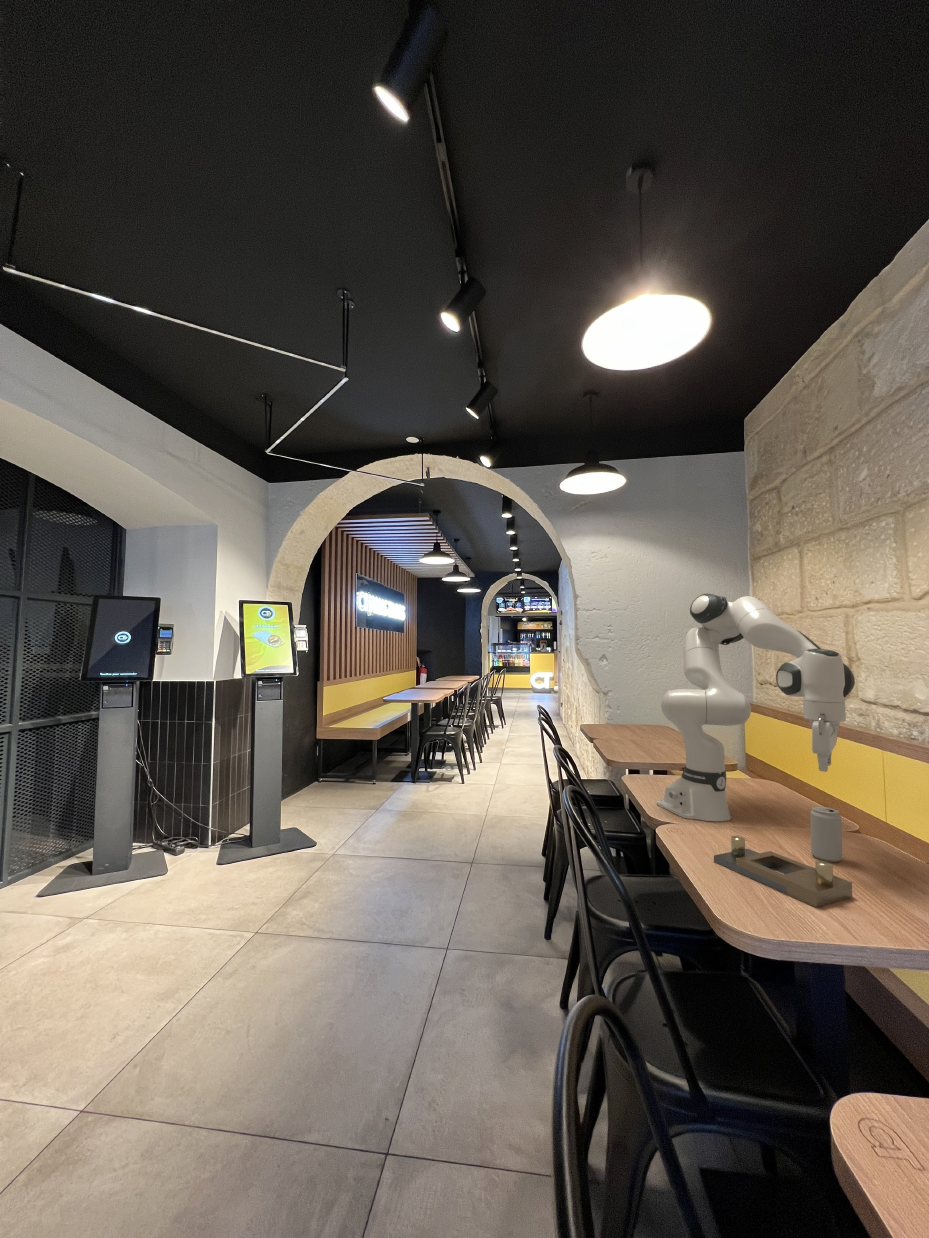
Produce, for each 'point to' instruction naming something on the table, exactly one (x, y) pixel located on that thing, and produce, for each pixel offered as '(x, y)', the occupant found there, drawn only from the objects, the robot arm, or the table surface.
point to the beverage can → (826, 834)
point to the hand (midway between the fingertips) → (825, 768)
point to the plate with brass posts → (787, 874)
